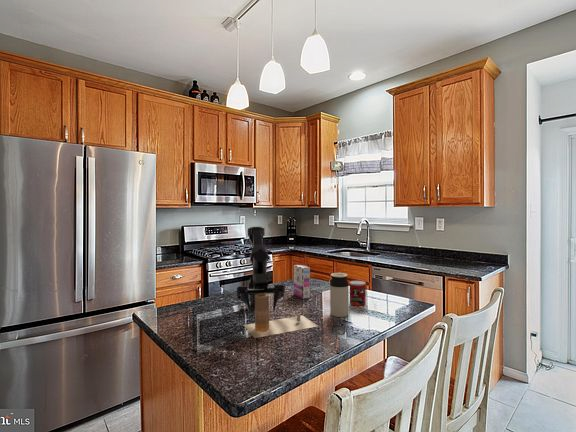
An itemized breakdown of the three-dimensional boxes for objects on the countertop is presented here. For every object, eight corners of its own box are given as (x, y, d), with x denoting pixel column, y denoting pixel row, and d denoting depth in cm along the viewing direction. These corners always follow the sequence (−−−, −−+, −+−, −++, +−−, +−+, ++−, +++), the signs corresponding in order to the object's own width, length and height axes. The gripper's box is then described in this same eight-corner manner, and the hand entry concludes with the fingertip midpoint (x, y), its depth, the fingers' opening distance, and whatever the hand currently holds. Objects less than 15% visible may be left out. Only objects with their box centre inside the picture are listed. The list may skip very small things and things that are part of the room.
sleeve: (252, 330, 119) (252, 295, 119) (259, 325, 124) (259, 292, 124) (264, 332, 117) (264, 297, 117) (271, 327, 122) (270, 294, 121)
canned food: (347, 305, 153) (347, 283, 153) (352, 301, 160) (352, 280, 160) (363, 308, 149) (363, 284, 149) (367, 303, 156) (367, 281, 156)
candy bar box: (311, 298, 167) (310, 267, 166) (302, 299, 165) (302, 268, 164) (301, 293, 177) (301, 264, 177) (293, 294, 175) (293, 264, 174)
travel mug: (348, 318, 135) (348, 276, 135) (329, 317, 137) (329, 276, 137) (348, 312, 143) (348, 272, 143) (331, 311, 145) (330, 272, 145)
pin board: (254, 342, 112) (254, 328, 112) (243, 328, 125) (243, 316, 125) (318, 329, 123) (318, 317, 123) (302, 318, 135) (302, 307, 135)
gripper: (236, 265, 123) (236, 301, 112) (284, 264, 126) (288, 299, 115) (237, 281, 131) (237, 316, 120) (281, 279, 134) (285, 313, 123)
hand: (262, 311), depth 119 cm, fingers open, 9 cm apart
